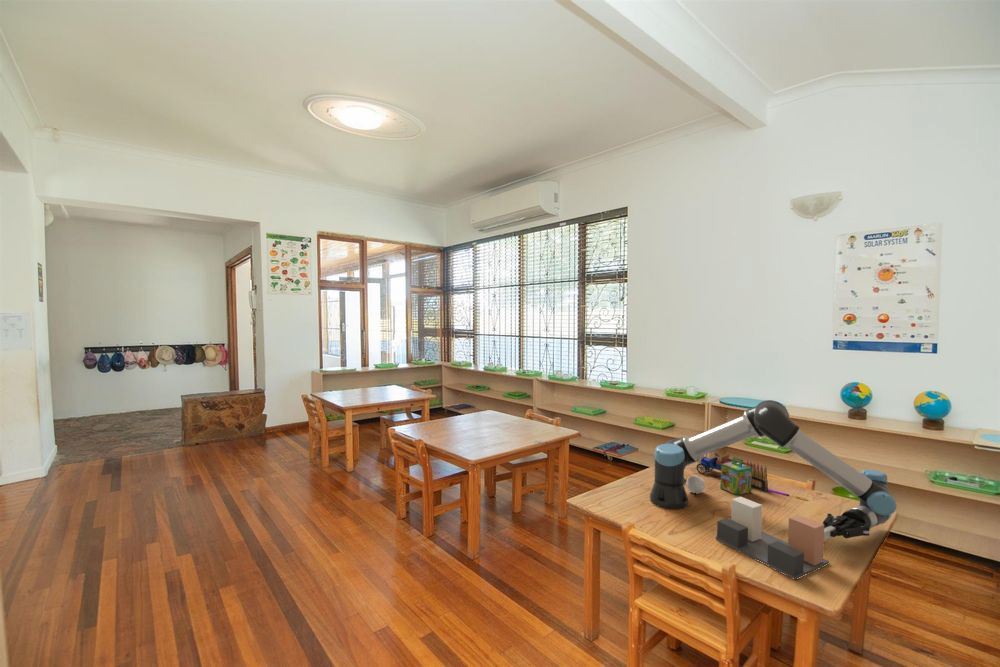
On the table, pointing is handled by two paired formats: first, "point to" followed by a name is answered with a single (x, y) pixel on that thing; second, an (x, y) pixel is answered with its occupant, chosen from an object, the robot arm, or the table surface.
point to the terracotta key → (807, 538)
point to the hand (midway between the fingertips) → (822, 535)
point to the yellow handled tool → (783, 493)
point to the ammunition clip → (758, 476)
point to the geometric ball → (695, 484)
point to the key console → (765, 549)
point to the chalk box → (736, 477)
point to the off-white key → (748, 516)
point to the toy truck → (714, 463)
